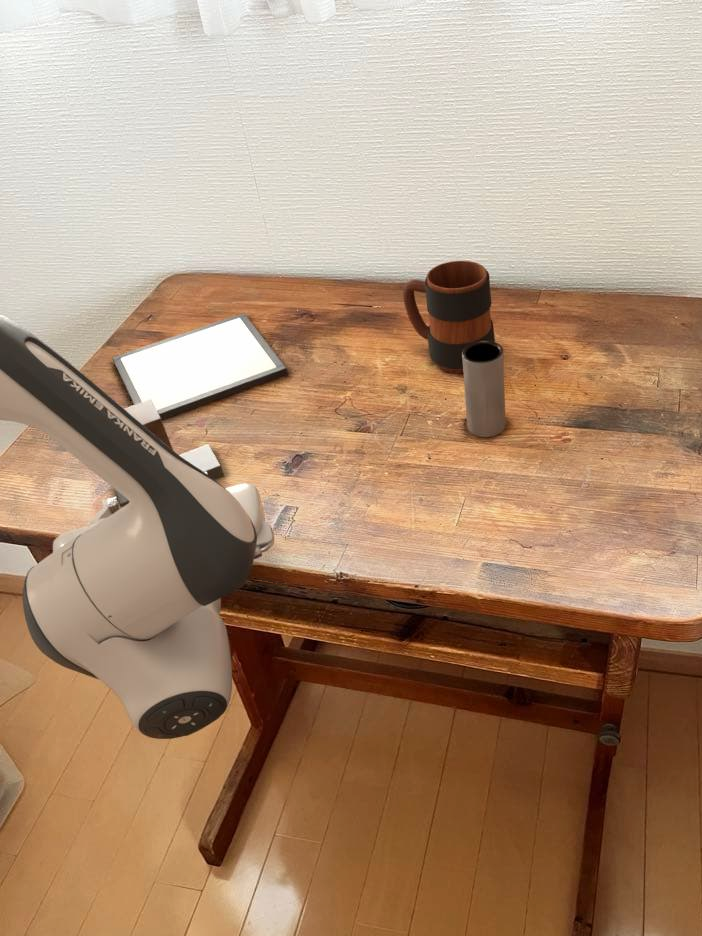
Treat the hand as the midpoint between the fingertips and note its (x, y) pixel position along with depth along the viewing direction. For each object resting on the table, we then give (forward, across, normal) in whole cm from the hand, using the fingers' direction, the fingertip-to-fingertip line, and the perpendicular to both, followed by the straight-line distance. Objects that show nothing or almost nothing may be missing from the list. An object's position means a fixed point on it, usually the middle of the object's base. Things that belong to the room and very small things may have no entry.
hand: (157, 490), depth 86 cm
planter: (+4, -38, +7) cm, 38 cm away
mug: (+21, -39, +7) cm, 44 cm away
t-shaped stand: (+10, 0, +7) cm, 12 cm away
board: (+33, -6, +7) cm, 34 cm away
